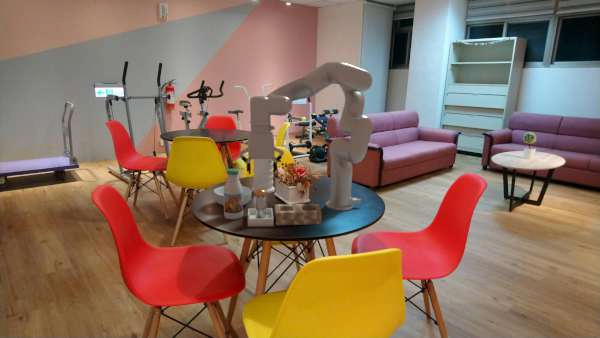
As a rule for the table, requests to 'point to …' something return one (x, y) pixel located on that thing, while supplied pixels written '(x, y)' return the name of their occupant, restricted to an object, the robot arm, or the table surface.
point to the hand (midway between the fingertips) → (262, 172)
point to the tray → (260, 222)
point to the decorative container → (263, 175)
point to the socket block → (297, 214)
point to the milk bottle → (233, 196)
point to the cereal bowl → (220, 194)
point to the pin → (260, 204)
